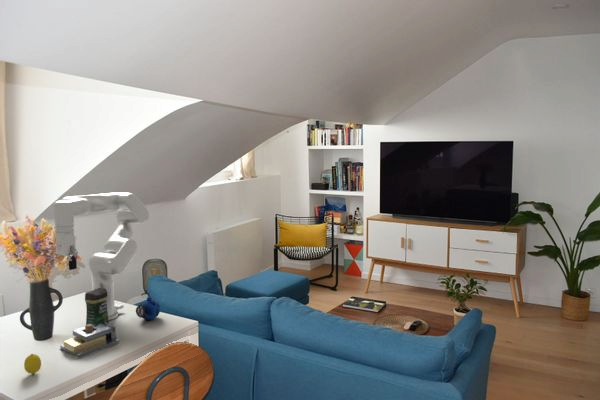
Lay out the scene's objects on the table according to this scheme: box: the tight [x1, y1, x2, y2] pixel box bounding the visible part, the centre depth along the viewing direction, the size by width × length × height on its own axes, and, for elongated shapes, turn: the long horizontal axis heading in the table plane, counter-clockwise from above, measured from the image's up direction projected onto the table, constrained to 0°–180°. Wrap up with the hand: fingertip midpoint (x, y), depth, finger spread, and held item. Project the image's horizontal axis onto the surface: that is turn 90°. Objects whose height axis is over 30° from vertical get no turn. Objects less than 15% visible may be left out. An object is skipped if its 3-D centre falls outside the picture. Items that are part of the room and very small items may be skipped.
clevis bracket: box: [59, 321, 120, 359], centre depth 209 cm, size 18×14×7 cm
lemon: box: [23, 353, 42, 375], centre depth 184 cm, size 6×6×8 cm
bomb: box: [135, 289, 161, 321], centre depth 237 cm, size 10×11×15 cm
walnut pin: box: [84, 324, 93, 333], centre depth 208 cm, size 3×3×9 cm
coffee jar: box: [84, 288, 110, 326], centre depth 226 cm, size 10×8×19 cm
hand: (67, 267), depth 218 cm, fingers open, 9 cm apart
